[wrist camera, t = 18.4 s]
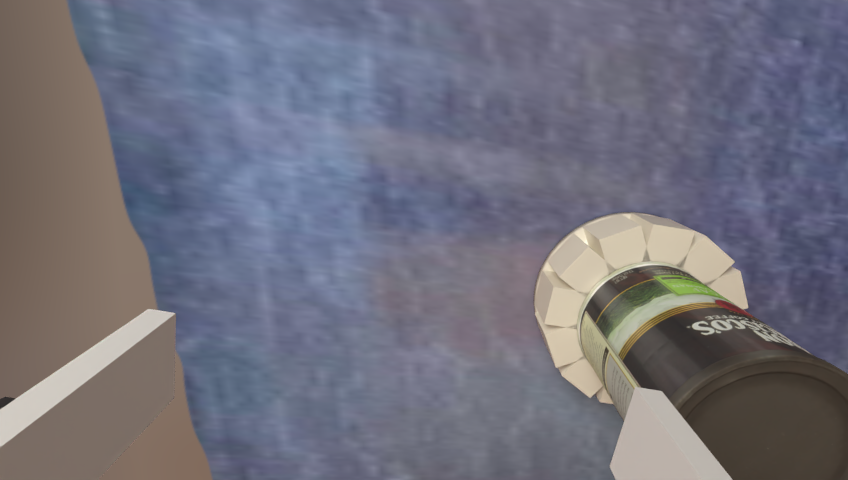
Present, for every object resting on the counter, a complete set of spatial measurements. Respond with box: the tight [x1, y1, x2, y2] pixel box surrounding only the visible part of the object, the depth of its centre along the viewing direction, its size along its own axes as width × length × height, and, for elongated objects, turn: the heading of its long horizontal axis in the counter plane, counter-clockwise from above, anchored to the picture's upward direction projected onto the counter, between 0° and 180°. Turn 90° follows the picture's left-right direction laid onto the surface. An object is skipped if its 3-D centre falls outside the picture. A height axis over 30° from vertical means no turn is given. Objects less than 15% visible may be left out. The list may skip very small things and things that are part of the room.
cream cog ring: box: [534, 212, 748, 404], centre depth 38 cm, size 15×15×5 cm
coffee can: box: [577, 262, 848, 480], centre depth 29 cm, size 10×10×14 cm
